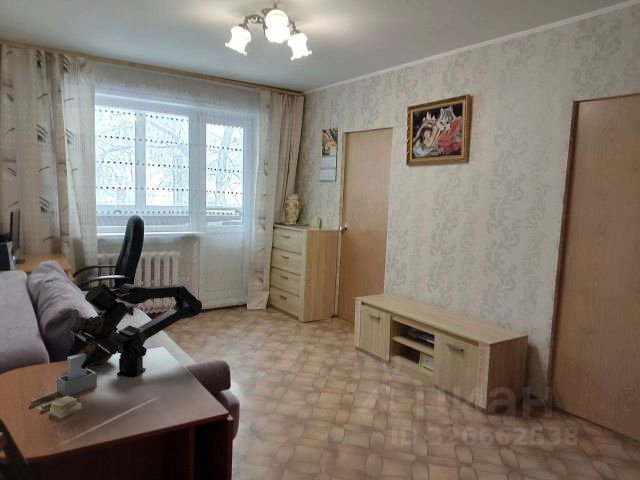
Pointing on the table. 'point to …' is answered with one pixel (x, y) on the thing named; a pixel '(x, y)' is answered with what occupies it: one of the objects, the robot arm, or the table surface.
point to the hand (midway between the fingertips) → (74, 363)
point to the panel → (76, 366)
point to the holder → (76, 383)
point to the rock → (89, 347)
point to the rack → (56, 405)
